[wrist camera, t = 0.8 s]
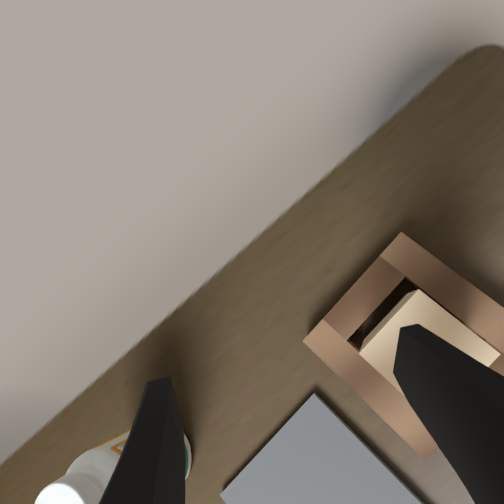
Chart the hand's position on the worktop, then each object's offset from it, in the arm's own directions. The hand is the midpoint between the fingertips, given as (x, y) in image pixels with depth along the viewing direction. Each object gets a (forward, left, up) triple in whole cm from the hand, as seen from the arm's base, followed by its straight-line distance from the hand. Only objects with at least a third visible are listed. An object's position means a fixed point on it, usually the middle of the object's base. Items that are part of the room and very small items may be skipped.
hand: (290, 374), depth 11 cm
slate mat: (-6, +9, -15) cm, 18 cm away
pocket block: (-3, -3, -15) cm, 15 cm away
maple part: (-3, -3, -15) cm, 15 cm away
